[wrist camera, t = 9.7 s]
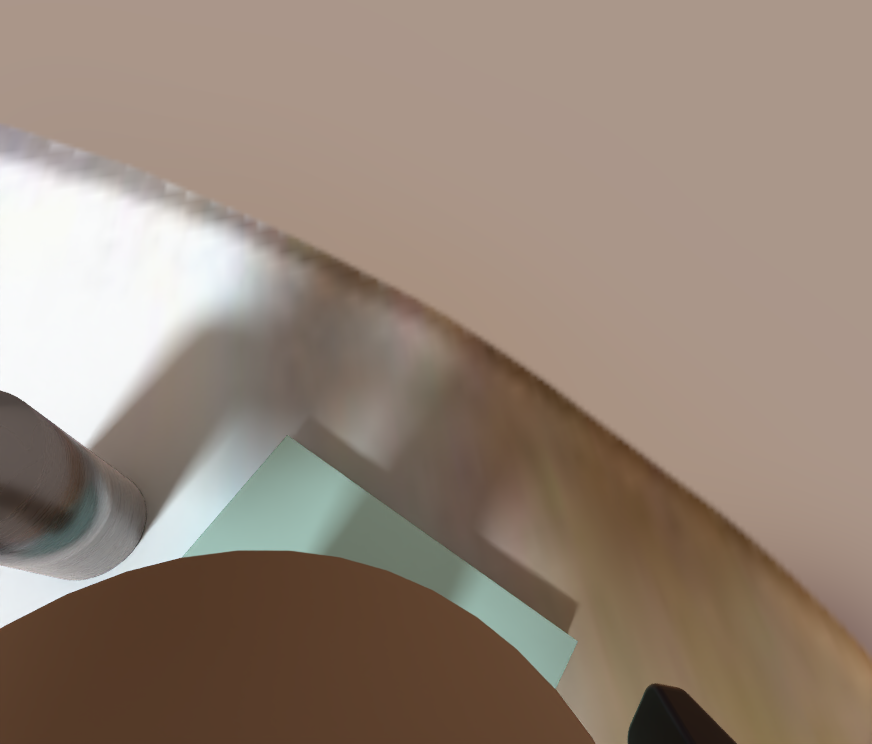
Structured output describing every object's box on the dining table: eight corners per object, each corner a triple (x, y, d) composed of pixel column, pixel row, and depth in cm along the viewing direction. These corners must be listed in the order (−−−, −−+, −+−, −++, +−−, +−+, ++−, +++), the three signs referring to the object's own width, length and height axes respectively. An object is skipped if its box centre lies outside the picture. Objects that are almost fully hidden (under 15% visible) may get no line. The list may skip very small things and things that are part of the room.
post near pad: (84, 603, 15) (-65, 581, 9) (3, 537, 15) (-185, 480, 10) (169, 510, 16) (80, 445, 11) (92, 451, 17) (-30, 360, 11)
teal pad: (353, 1081, 12) (354, 1118, 11) (10, 776, 13) (-15, 785, 12) (565, 641, 16) (577, 641, 15) (290, 445, 17) (287, 435, 17)
